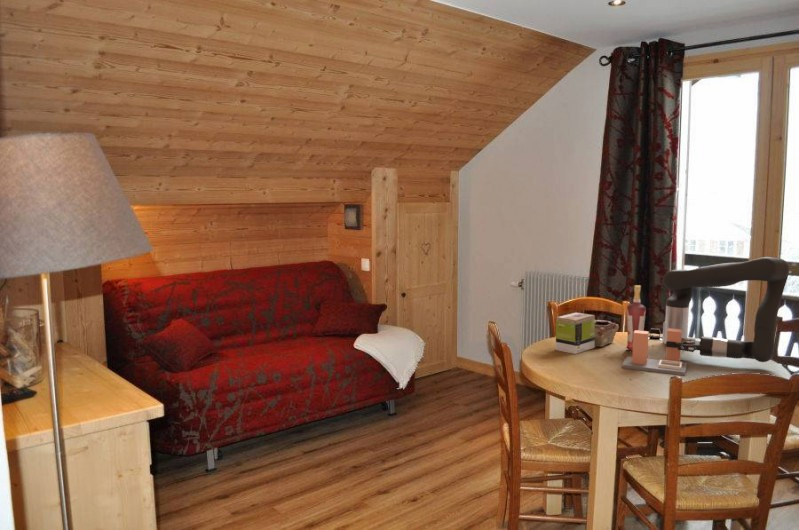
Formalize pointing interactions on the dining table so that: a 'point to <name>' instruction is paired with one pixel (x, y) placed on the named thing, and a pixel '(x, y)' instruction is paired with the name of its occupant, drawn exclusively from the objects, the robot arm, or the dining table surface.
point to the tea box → (575, 332)
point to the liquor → (635, 317)
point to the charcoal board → (642, 363)
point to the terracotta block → (673, 336)
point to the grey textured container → (604, 332)
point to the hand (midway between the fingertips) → (666, 342)
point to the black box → (655, 331)
